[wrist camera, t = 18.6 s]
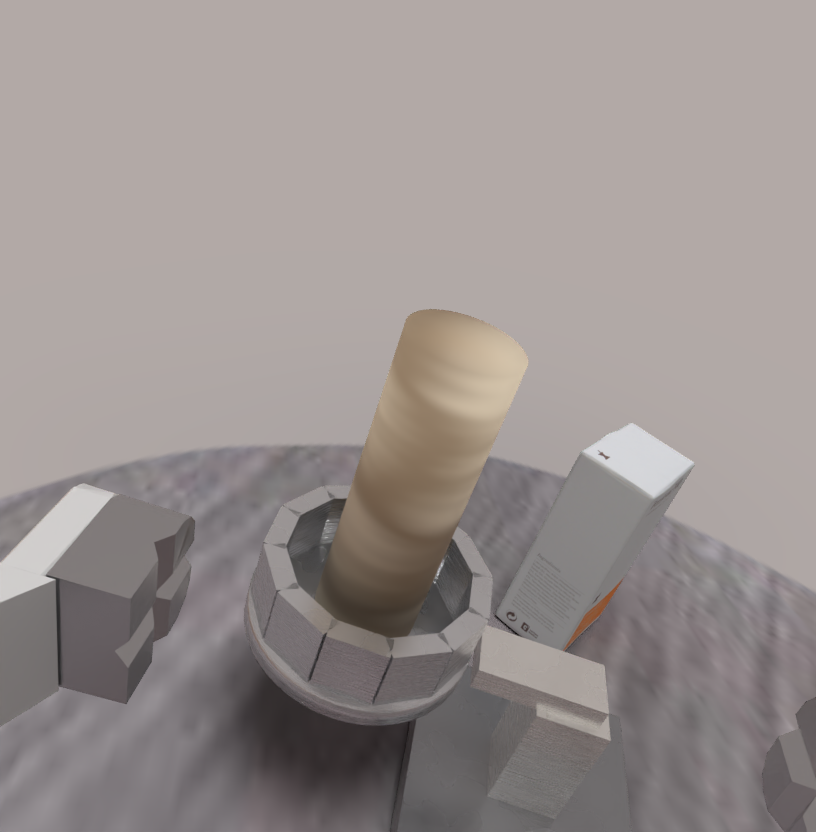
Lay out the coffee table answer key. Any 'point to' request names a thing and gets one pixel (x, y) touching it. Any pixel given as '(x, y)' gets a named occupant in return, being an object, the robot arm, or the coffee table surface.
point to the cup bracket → (443, 690)
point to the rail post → (418, 467)
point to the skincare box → (592, 535)
